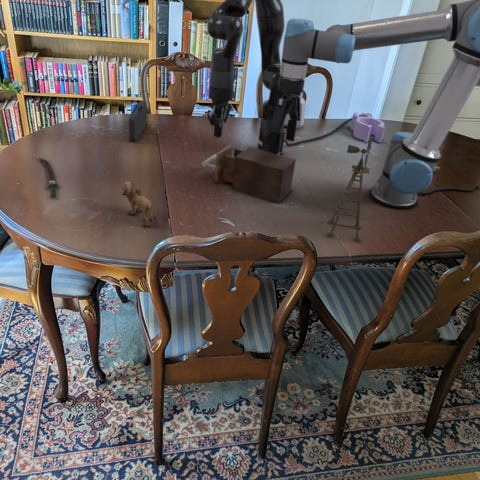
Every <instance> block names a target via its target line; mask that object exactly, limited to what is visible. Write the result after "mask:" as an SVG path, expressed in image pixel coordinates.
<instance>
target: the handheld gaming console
mask: <svg viewBox="0 0 480 480" xmlns="http://www.w3.org/2000/svg"><path fill="white" fill-rule="evenodd" d="M147 104H148V103H147V101H146V100H140V101H139V102H137V104H136V105H135V107H134V108H133V110H132V111H131V113H130V114H129V116H128V139H129V141H131V142H136V141H137V140H138V138H140V137H139V136H141V134H142V132H143V130H144V129H145V127H146V125H147V123H148V105H147Z"/></svg>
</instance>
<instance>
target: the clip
mask: <svg viewBox="0 0 480 480" xmlns="http://www.w3.org/2000/svg"><path fill="white" fill-rule="evenodd" d="M369 114H370V113H368V114H366V112H361V115H362V116H361V117H360V116H358V115H359V113H358V112H353V114H352V117H351V118H352V120H351V122H350V126H349V129H350V130H351V131H353V132H352V136H353V137H354V138H356V139H358V140H361V141H363V142H364V143H368V142H369V138H370V136H371V135H372V136H374V139H373V140H374V142H376V143H382V140H383V137H384V132H385V129H386V127H385V122H384V121H383V120H380V119H377V118H374V117H373V116H372V117H371V115H372V114H371V115H369Z"/></svg>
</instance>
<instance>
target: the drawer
mask: <svg viewBox="0 0 480 480" xmlns="http://www.w3.org/2000/svg"><path fill="white" fill-rule="evenodd" d="M233 147H234V146H233V144H229V145H227V146H225V147H224V148H222V149H221V150H219V151H217V152H216V153H215V154H213V155H212V156H210V157H209V158H207V159H205V160H204V161H202V163H201V165H202V167H205V168H206V167H210V168H214V169H215V170H214V181H216V182H218V181H220V180H221V179H222V181H224V182H227V183H230V184H233V177H234V166H235V157H236V156H237V155H238V154H240V153H241V152H243V151H244V150H245V149H244V150H243V149H240V148H236V147H235V148H234V149H233ZM214 162H215V164H211V163H214Z"/></svg>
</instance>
